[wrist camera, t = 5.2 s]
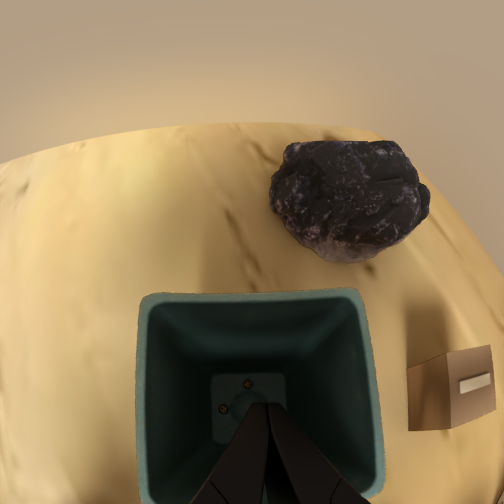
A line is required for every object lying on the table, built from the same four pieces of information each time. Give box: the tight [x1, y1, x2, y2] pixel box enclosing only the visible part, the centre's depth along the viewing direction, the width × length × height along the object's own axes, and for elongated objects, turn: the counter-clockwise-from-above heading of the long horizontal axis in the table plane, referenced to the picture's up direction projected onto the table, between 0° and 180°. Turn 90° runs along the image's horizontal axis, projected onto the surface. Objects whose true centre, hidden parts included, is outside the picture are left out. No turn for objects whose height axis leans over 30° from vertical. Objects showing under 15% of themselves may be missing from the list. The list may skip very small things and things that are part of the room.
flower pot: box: [135, 288, 386, 504], centre depth 12 cm, size 9×9×9 cm
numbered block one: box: [406, 345, 496, 431], centre depth 14 cm, size 5×5×5 cm
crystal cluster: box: [269, 140, 430, 263], centre depth 21 cm, size 13×14×10 cm
